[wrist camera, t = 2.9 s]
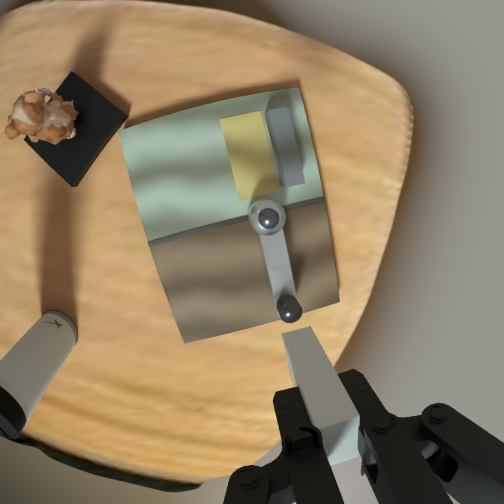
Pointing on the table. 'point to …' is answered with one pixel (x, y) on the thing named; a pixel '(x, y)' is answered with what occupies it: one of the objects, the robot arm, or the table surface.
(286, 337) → the robot arm
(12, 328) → the table surface
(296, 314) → the bar
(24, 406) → the travel mug
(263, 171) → the door board
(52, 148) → the figurine
